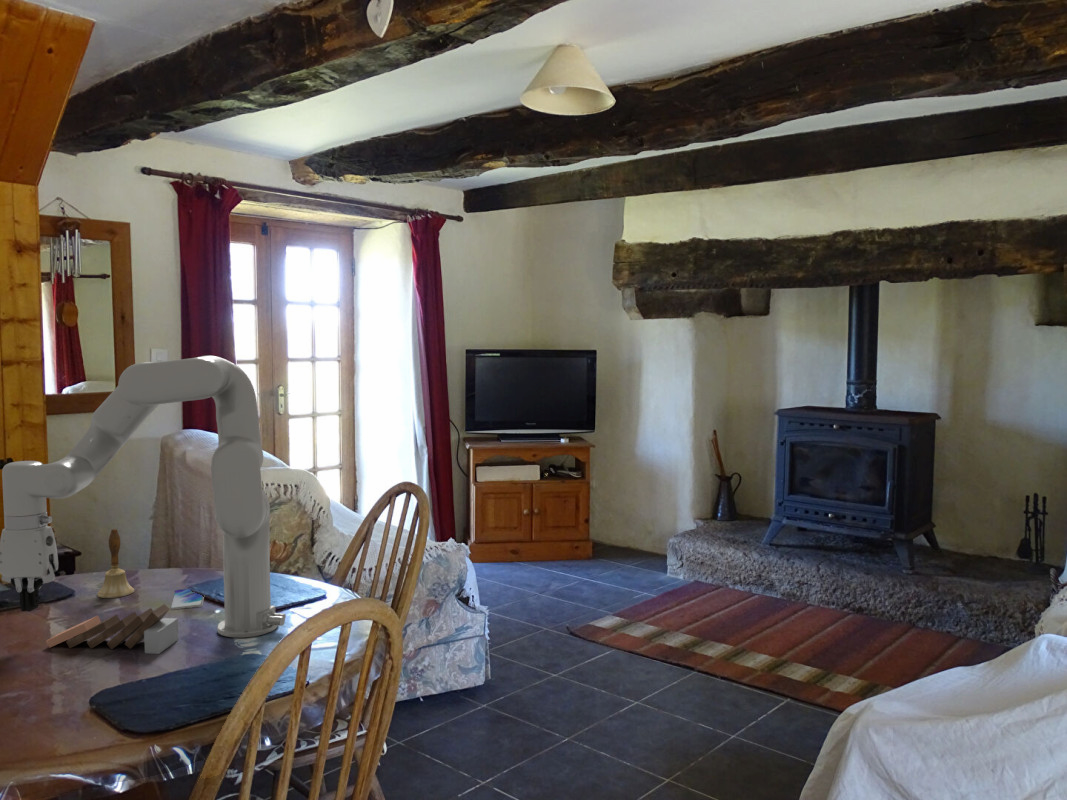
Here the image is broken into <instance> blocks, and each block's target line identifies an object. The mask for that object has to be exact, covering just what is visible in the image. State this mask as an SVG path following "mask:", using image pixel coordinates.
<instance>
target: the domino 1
mask: <svg viewBox="0 0 1067 800" xmlns="http://www.w3.org/2000/svg"><path fill="white" fill-rule="evenodd" d="M101 622H102V620H101V619H100V617H99V615H96V616H93V617H92V618H89V619H87V620H85V621H83V622H81V623H78V624H76V625H74V626H72V627H69V628H68V629H67V628H66V629H65V630H63V631H61V632H59V633H58V634H56V635H53V636H52V637H51V638H49V639H47V640H45V642H46V645H47V647H48V648H49V649H50V648H52V647H54V646H57V645H58V644H62V643H63V642H65V641H68V640H70V639H71V638H73V637H75V636H77V635H79V634H81V633H83V632H85V631H88V630H89V629H91V628H93V627H94V626H96V625H98V624H99V623H101Z"/></svg>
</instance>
